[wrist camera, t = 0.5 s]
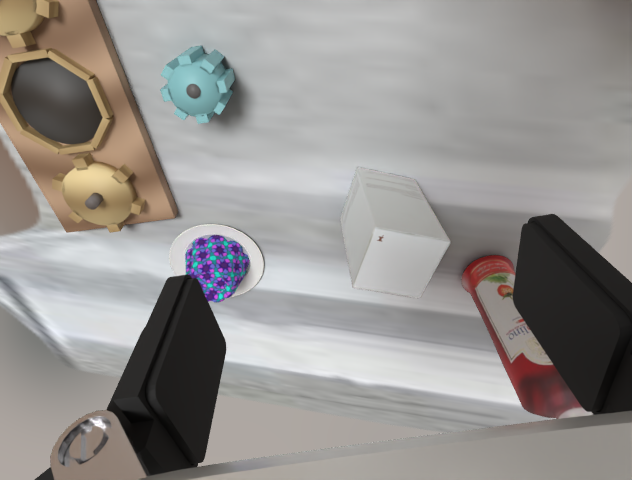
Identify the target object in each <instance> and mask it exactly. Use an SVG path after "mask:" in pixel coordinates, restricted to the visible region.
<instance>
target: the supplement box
mask: <svg viewBox="0 0 632 480" xmlns="http://www.w3.org/2000/svg"><path fill="white" fill-rule="evenodd" d="M340 222H341V227H342V232H343V238H344V243H345V249H346V254H347V260H348V265H349V271H350V276H351V282H352V287H353V288H356V289H363V290H370V291H376V292H382V293H388V294H394V295H401V296H407V297H413V298H421V296H422V294H423V292H424V290H425V288H426V286H427V285H428V283H429V281H430V279H431V277H432V275H433V273H434V271H435V270H436V268H437V266H438V264H439V262H440V261H441V259H442V257H443V256H444V254H445V252H446V250H447V248H448V247H449V245H450V243H451V241H450V239H449V238H448V236H447V234H446V233H445V231H444V229H443V227H442V226H441V224H440V222H439V221H438V219H437V217H436V215H435V214H434V212H433V210H432V208H431V207H430V205H429V203H428V201H427V200H426V198H425V196H424V194H423V193H422V191H421V189H420V187H419V186H418V184H417V182H416V181H415V179H411V178H407V177H403V176H398V175H393V174H388V173H384V172H379V171H374V170H370V169H365V168H360V167H357V169H356V172H355V175H354V178H353V181H352V184H351V187H350V190H349V193H348V196H347V199H346V202H345V205H344V209H343V211H342V214H341V218H340Z"/></svg>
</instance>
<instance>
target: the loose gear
mask: <svg viewBox="0 0 632 480" xmlns="http://www.w3.org/2000/svg"><path fill="white" fill-rule="evenodd" d="M223 58H224V56H223V55H222V54H221V53H219V52H218V51H217V50H214V51H213V52H212V53H210V54H205V53H204V52H203V48H202V46H196V47H191V48H189V49H188V50H187V51H185V52H184V53H182V54H181V55H179V56H178V57H177V58H175V59H174V60H172V61H171V62H170V63H168V64H167V65H166V66H165V68H164V70H163V72H162V74H161V76H163V77H164V78H166V79H167V80H168V84H167V85H165V86H164V87H163V88H162V89H161V90H160V91H161V94H162V96H163V99H164V102H165V101H172V102H173V103H174V105H175V106H176V107H177V109H176V111H175V113H174V114H175V115H177V116H178V117H180V118H181V119H183V120H185V119H186V117H187V116H188V115H191V116H196V119H197V122H198V124H199V123H206V122H209V121H210V119H211V118H212V116H213V114H214V113H215V112H216V113H217V114H218V115H220V114H221V112H222V110H223V109H224V107H225V106H226V104H227V102H228V100H229V98H230V97H231V95H232V93H233V91H231V90H230V89H229V88H230V87H231V85H232V83H233V82H234V80H235V77H234V73H233V69H232V68H231V69H225V67H224V66H223V64H222V63H221V62H222V60H223Z"/></svg>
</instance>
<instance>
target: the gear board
mask: <svg viewBox="0 0 632 480" xmlns="http://www.w3.org/2000/svg"><path fill="white" fill-rule="evenodd" d="M0 123H1V125H2V126H3V128H4V130H5V131H6V133H7V135H8V136H9V138H10V140H11V141H12V143H13V144H14V146H15V148H16V149H17V151H18V153H19V154H20V156H21V158H22V159H23V161H24V163H25V164H26V166H27V168H28V169H29V171H30V173H31V174H32V176H33V178H34V179H35V181H36V183H37V184H38V186H39V188H40V189H41V191H42V193H43V194H44V196H45V197H46V199H47V201H48V202H49V204H50V206H51V207H52V209H53V211H54V212H55V214H56V216H57V217H58V219H59V221H60V222H61V224H62V226H63V227H64V229H65V231H66V232H75V231H82V230H90V229H97V228H105V227H107V228H108V230H109V232H117V231H121V229H122V228H123V226H124V225H127V224H135V223H142V222H150V221H157V220H165V219H172V218H175V217H176V215H177V213H178V209H177V207H176V204H175V202H174V199H173V197H172V194H171V192H170V189H169V186H168V184H167V181H166V179H165V176H164V174H163V171H162V168H161V166H160V163H159V161H158V158H157V156H156V153H155V151H154V148H153V145H152V143H151V140H150V138H149V135H148V133H147V130H146V128H145V125H144V122H143V120H142V117H141V115H140V112H139V110H138V107H137V104H136V102H135V99H134V97H133V94H132V92H131V89H130V87H129V84H128V81H127V79H126V76H125V74H124V71H123V69H122V66H121V63H120V61H119V58H118V56H117V53H116V51H115V48H114V46H113V43H112V40H111V38H110V35H109V33H108V30H107V28H106V25H105V23H104V20H103V17H102V15H101V12H100V10H99V7H98V5H97V2H96V0H0Z"/></svg>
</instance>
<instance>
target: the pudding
mask: <svg viewBox="0 0 632 480" xmlns="http://www.w3.org/2000/svg"><path fill="white" fill-rule="evenodd" d="M210 234H218V235H214V236H211V237H210V238H208V239H205V238H199V237H201V236H204V235H210ZM219 235H224V236H227V237H230V238H232V239H234V240H236V241H237V242H239V243H240V244H241V245H242V246H243V247H244V248H245V249H246V250H247V252H248V254H249V257H250V269H249V271H248V273H247V275H246V276H245V274H246V272H247V271H246V268H247V267H248V265H249V258H248V255H246V254H244V253H243V252H242V246H241V245H240V244H239V243H237V242H235V241H227V240H226V239H225V238H224V237H222V236H219ZM196 238H199V239H196ZM195 239H196V240H195ZM193 240H195V241H194V242H193V246H192V248H191V249H189V250H187V252H186V254H185V251H186V249H187V247H188V245H189V244H190V243H191V242H192V241H193ZM185 256H186V263H185ZM169 261H170V265H171V268H172V270H173V272H174V274H175V275H176V276H180V275H186V274H188V275H190V276H191V277H192V278H197V279H198V281H199V283H200V285H201V287H202V290H203V292H204V294H205V296H206V299H207V301H213V302H221V301H223V300H224V299H225V298H229V297H234V296H238V295H241V294H243V293H245V292H247V291H249V290H250V289H252V288H253V287H254V286H255V285H256V284H257V283H258V281H259V280H260V278H261V276H262V274H263V269H264V261H263V257H262V254H261V252H260V250H259V248H258V247H257V245H256V244H255V243H254V242H253V241H252V240H251V239H250V238H249V237H248V236H246V235H245V234H244V233H242V232H240V231H238V230H236V229H234V228H231V227H228V226H223V225H217V224H206V225H199V226H195V227H192V228H190V229H188V230H186V231H184V232H183V233H181V234H180V235H179V236H178V237H177V238H176V239H175V240H174V242H173V244H172V246H171V249H170V252H169ZM244 276H245V277H244Z"/></svg>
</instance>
